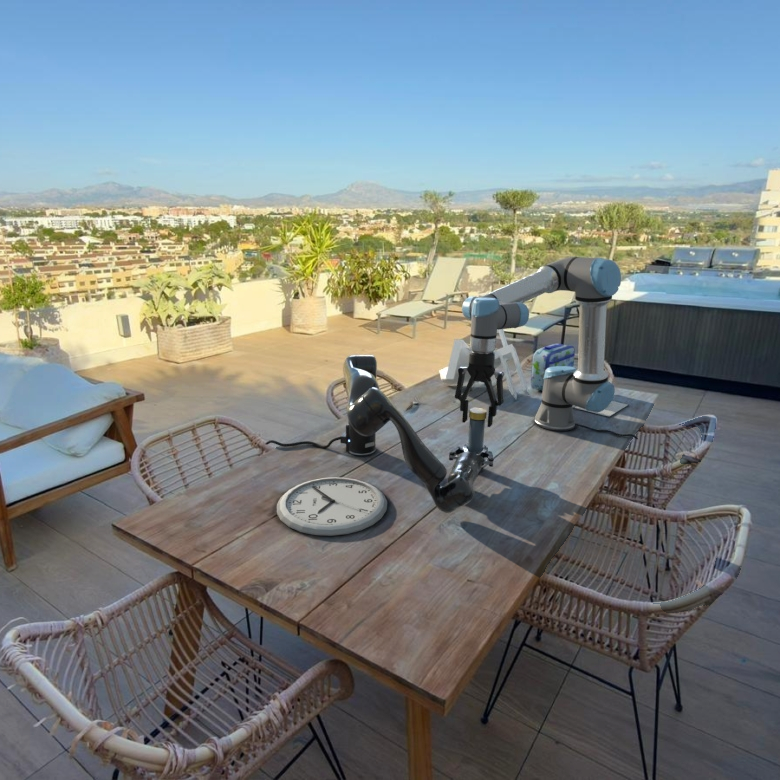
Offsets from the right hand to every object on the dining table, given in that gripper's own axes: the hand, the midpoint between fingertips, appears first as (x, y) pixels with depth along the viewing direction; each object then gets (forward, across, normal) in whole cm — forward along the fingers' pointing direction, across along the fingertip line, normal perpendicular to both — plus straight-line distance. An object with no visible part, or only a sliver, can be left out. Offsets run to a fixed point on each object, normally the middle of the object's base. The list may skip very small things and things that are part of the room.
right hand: (477, 423), depth 161 cm
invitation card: (+16, -30, -85) cm, 92 cm away
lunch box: (+16, -5, -103) cm, 104 cm away
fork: (+16, +42, -46) cm, 64 cm away
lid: (-4, 0, 0) cm, 4 cm away
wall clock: (+16, +27, +40) cm, 51 cm away
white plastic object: (+16, +23, -79) cm, 84 cm away
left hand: (+9, 0, -3) cm, 9 cm away
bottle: (+16, 0, 0) cm, 16 cm away
